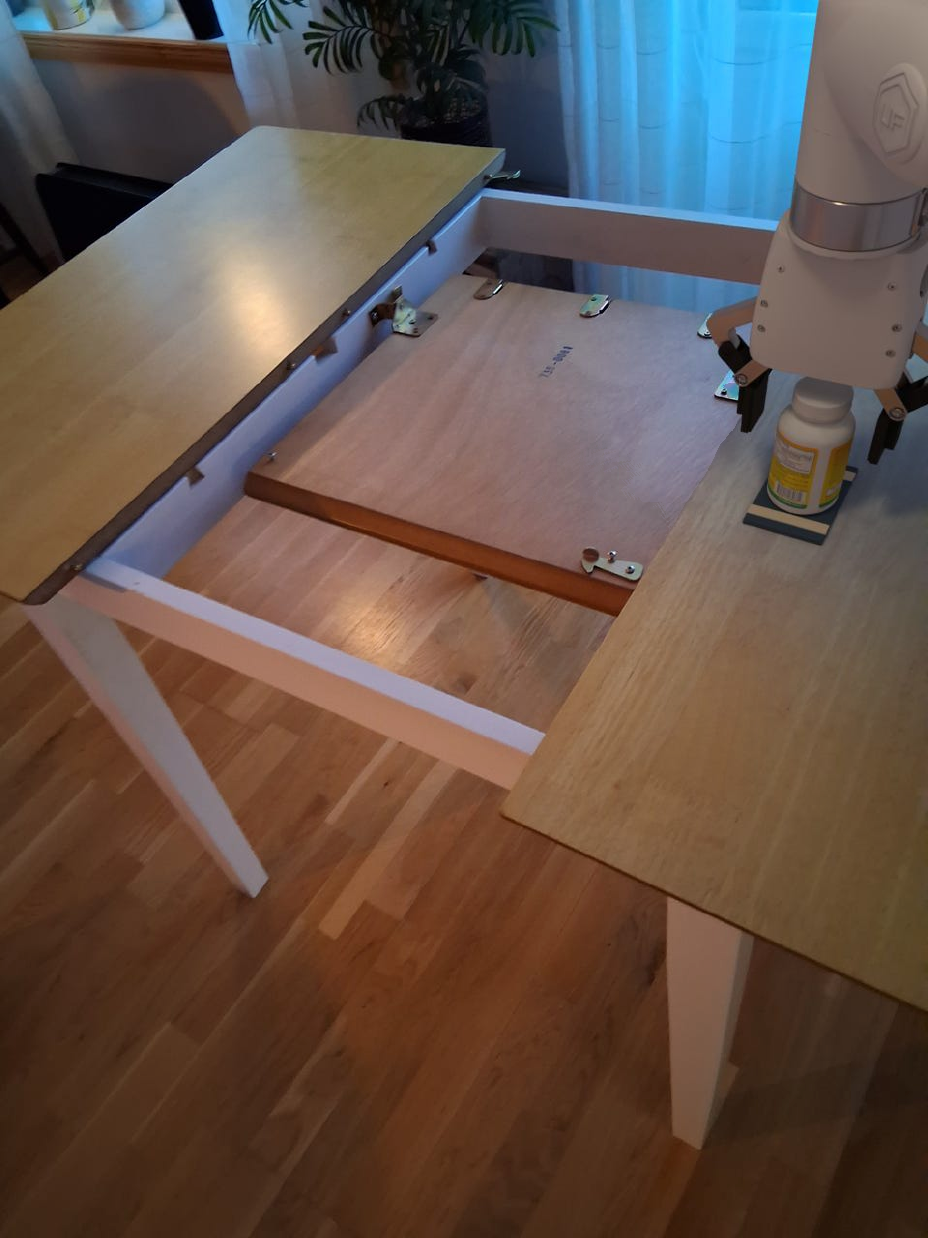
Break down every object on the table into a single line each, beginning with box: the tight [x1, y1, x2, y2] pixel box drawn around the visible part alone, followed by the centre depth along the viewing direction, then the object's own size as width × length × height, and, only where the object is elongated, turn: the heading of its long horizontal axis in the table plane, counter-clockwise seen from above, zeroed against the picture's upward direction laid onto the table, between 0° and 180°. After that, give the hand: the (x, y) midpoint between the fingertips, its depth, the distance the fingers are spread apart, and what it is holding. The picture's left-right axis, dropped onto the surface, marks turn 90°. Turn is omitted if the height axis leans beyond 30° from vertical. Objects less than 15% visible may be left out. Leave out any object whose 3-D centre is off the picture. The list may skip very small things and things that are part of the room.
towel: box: [742, 465, 859, 546], centre depth 72 cm, size 6×9×1 cm, turn 148°
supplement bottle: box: [767, 376, 857, 515], centre depth 68 cm, size 5×5×10 cm
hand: (813, 436), depth 68 cm, fingers open, 8 cm apart
